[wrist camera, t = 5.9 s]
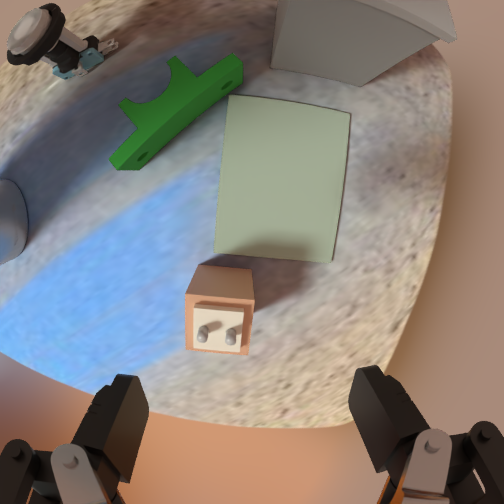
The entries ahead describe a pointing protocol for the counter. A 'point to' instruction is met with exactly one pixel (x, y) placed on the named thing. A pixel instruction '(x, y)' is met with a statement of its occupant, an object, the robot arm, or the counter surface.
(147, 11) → the counter surface
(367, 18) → the box
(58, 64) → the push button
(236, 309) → the block
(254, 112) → the pad
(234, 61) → the pipe clamp
